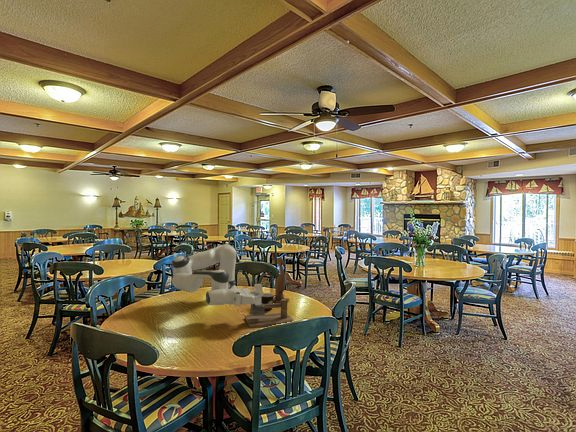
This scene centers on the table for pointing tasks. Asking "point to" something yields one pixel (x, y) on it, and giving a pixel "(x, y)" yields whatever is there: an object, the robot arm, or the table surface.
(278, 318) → the cup bracket
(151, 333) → the table surface
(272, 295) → the coffee mug
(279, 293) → the bird sculpture
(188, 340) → the table surface
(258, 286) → the rail
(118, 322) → the table surface
